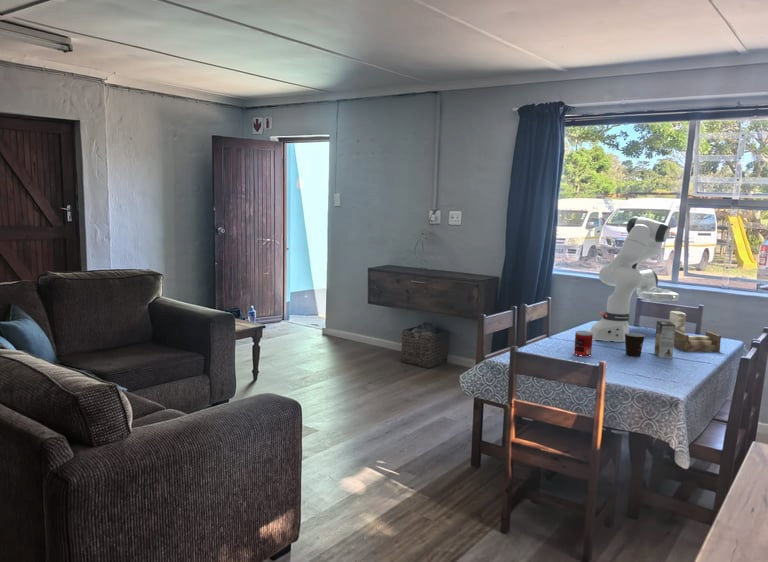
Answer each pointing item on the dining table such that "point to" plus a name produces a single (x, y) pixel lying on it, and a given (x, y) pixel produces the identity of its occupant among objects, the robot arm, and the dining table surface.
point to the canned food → (583, 343)
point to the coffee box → (664, 339)
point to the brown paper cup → (634, 344)
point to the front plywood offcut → (699, 342)
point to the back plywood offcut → (698, 338)
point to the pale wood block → (678, 320)
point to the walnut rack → (682, 344)
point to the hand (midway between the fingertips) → (666, 298)
